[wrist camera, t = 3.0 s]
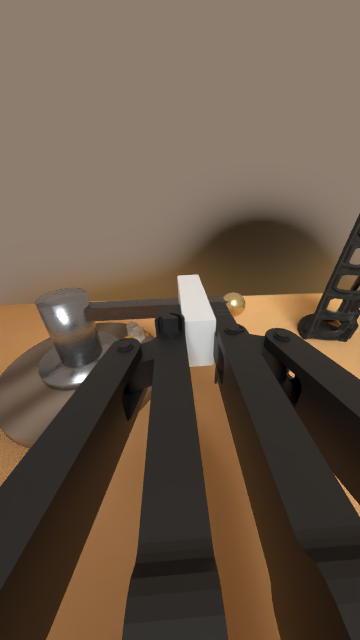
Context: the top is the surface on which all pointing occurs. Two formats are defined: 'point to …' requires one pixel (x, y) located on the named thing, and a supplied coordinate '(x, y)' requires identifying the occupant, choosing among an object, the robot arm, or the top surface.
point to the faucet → (92, 330)
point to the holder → (351, 298)
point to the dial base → (44, 388)
